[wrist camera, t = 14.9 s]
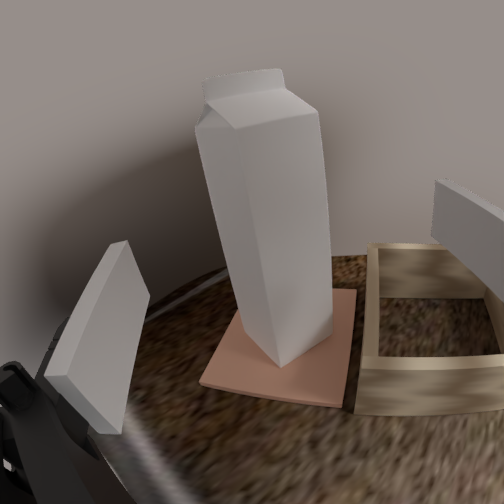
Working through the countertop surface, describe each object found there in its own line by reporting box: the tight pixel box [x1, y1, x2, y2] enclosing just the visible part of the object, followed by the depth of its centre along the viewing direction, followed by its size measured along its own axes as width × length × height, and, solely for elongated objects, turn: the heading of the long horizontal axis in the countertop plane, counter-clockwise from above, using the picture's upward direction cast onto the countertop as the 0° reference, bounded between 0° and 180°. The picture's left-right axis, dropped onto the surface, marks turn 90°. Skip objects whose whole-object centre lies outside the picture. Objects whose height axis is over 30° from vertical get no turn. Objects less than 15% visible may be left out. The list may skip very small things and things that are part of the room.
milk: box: [195, 68, 333, 368], centre depth 22 cm, size 6×6×22 cm
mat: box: [199, 289, 357, 408], centre depth 28 cm, size 12×14×1 cm
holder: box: [354, 243, 504, 416], centre depth 21 cm, size 15×15×6 cm
